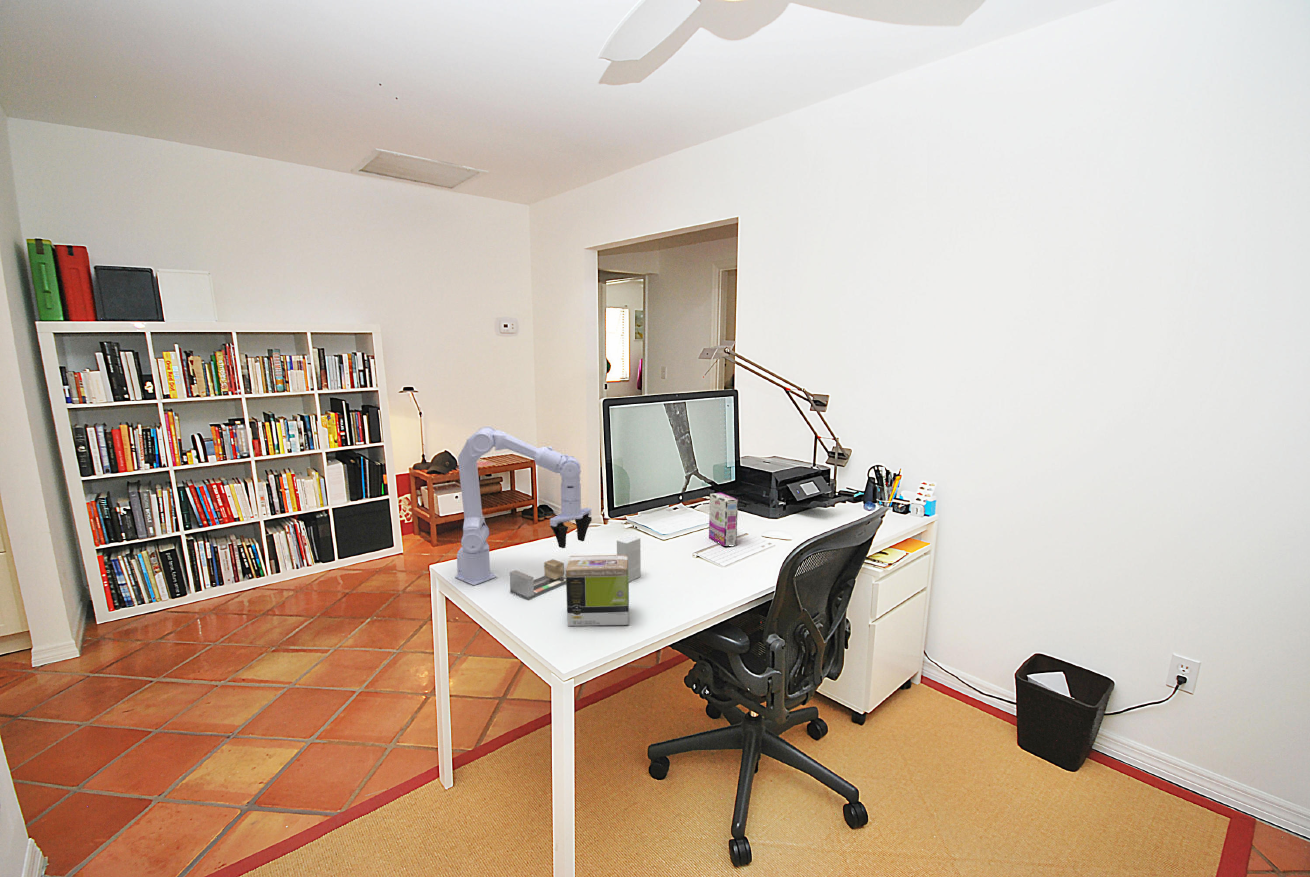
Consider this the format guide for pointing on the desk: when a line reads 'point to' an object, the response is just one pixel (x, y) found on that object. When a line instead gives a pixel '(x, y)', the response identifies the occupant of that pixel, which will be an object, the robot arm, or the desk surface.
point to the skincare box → (631, 555)
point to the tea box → (597, 590)
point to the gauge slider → (554, 569)
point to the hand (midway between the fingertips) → (571, 543)
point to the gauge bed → (532, 584)
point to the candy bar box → (723, 519)
